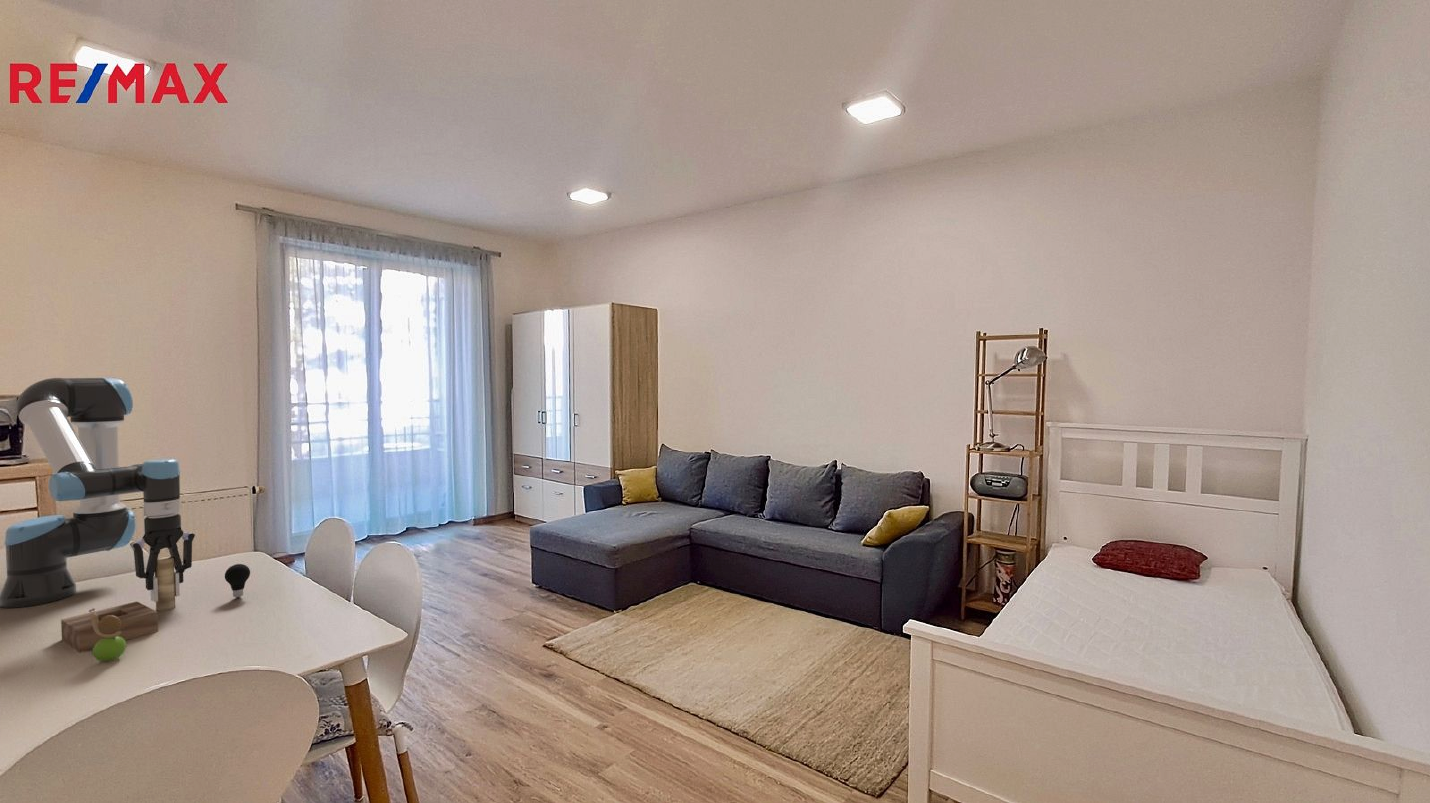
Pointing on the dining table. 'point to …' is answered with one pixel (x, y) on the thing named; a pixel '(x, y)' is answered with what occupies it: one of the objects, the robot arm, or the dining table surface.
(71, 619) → the socket block
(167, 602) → the dowel
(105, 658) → the snail figurine
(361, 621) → the dining table surface
